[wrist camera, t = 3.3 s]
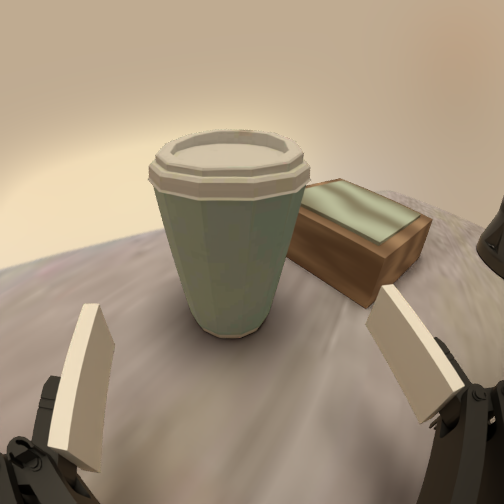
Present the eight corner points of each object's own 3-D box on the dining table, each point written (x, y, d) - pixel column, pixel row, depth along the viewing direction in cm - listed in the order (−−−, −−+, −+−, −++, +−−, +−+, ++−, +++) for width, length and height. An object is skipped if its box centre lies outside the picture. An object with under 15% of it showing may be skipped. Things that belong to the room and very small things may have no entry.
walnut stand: (333, 212, 46) (340, 176, 42) (419, 257, 35) (433, 216, 32) (260, 239, 36) (264, 192, 33) (366, 308, 26) (386, 254, 23)
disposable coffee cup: (276, 373, 20) (314, 169, 12) (146, 340, 22) (109, 153, 14) (292, 287, 29) (315, 136, 21) (192, 268, 30) (187, 125, 22)
